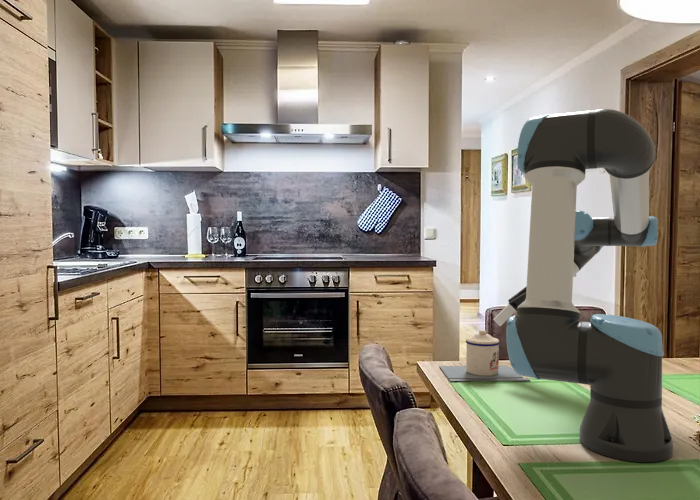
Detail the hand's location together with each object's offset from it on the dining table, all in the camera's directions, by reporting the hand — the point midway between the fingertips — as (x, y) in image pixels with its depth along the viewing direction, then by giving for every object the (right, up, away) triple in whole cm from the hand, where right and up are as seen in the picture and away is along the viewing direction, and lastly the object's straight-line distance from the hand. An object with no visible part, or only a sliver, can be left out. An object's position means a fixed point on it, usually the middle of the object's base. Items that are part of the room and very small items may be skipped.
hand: (503, 326), depth 150 cm
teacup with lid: (-6, -13, 0) cm, 14 cm away
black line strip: (-6, -13, -8) cm, 17 cm away
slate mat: (-7, -13, 0) cm, 14 cm away
